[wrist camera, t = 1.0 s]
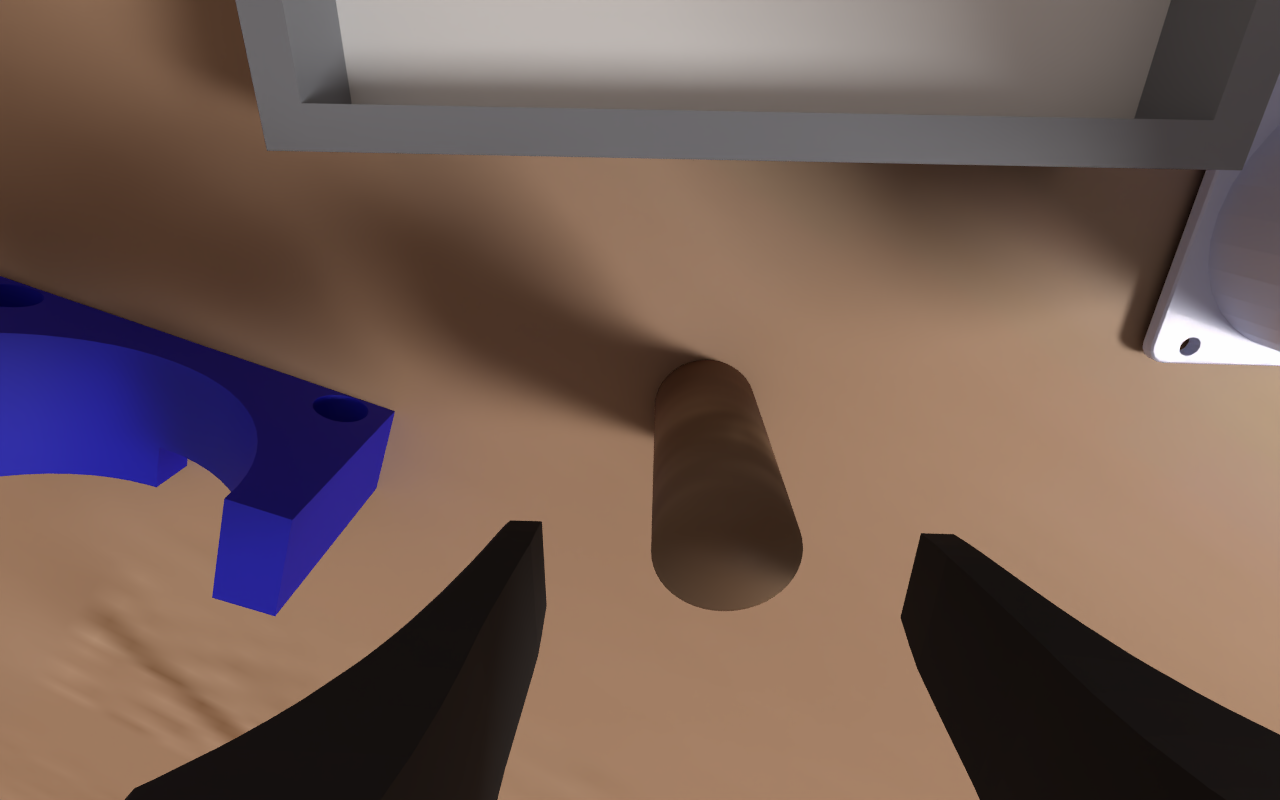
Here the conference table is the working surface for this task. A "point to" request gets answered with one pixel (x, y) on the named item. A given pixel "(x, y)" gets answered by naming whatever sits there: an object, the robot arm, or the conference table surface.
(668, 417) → the peg
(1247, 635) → the conference table surface
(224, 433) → the cable clip
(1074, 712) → the robot arm
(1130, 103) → the box
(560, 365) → the conference table surface
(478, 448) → the conference table surface
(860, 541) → the conference table surface
